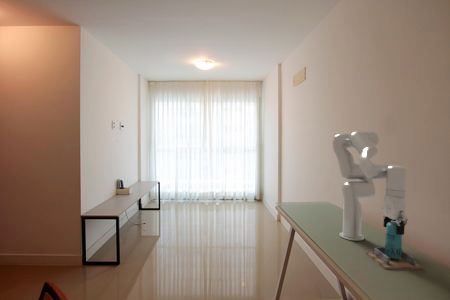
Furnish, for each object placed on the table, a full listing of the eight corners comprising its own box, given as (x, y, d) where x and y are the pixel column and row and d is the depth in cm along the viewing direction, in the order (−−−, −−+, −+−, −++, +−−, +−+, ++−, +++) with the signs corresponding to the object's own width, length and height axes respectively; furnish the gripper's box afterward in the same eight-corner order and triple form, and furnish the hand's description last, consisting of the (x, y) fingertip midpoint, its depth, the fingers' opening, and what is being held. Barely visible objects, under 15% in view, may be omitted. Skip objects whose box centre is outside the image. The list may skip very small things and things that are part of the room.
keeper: (366, 253, 131) (366, 245, 131) (399, 254, 131) (400, 246, 131) (384, 269, 116) (385, 259, 115) (423, 270, 115) (423, 260, 115)
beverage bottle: (385, 254, 128) (387, 212, 127) (402, 258, 124) (404, 215, 123) (383, 259, 123) (384, 215, 122) (400, 263, 119) (402, 218, 118)
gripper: (376, 189, 131) (374, 224, 132) (398, 197, 114) (396, 237, 115) (392, 189, 131) (390, 224, 132) (416, 197, 114) (414, 238, 115)
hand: (393, 230), depth 123 cm, fingers open, 9 cm apart
